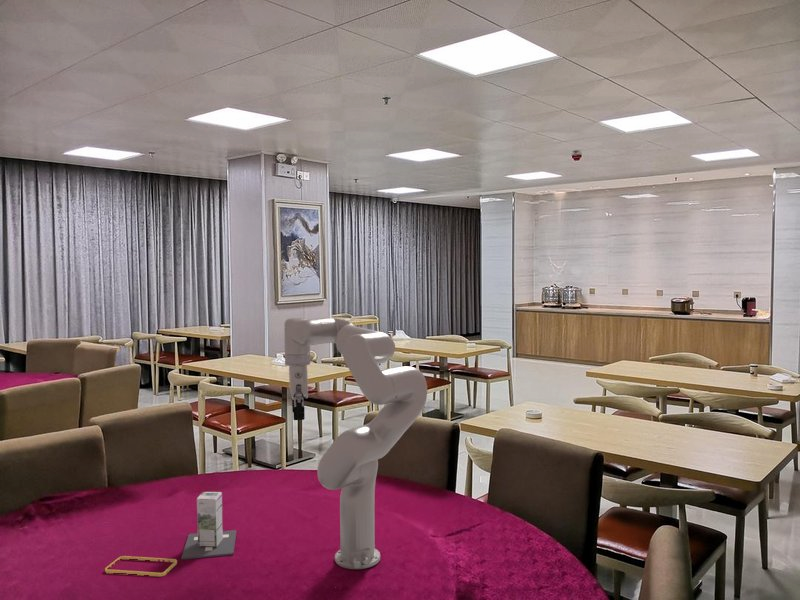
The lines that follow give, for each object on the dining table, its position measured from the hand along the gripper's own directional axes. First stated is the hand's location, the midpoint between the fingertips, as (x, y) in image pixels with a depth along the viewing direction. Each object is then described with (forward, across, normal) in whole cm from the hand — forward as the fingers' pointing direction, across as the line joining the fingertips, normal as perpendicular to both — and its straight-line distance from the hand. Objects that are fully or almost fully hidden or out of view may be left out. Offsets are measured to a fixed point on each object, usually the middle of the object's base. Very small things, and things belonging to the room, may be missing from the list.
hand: (298, 416), depth 190 cm
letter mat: (+36, -2, +26) cm, 45 cm away
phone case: (+37, -12, +43) cm, 58 cm away
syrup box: (+36, -2, +26) cm, 44 cm away
